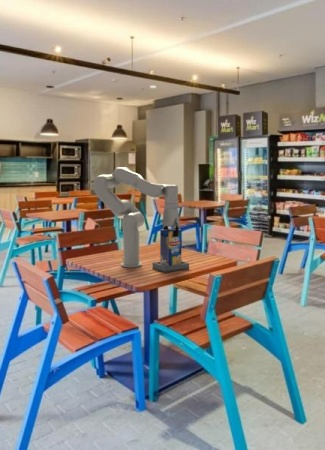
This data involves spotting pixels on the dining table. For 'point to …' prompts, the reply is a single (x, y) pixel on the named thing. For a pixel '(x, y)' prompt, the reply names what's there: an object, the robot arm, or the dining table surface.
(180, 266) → the tray
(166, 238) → the beverage box
